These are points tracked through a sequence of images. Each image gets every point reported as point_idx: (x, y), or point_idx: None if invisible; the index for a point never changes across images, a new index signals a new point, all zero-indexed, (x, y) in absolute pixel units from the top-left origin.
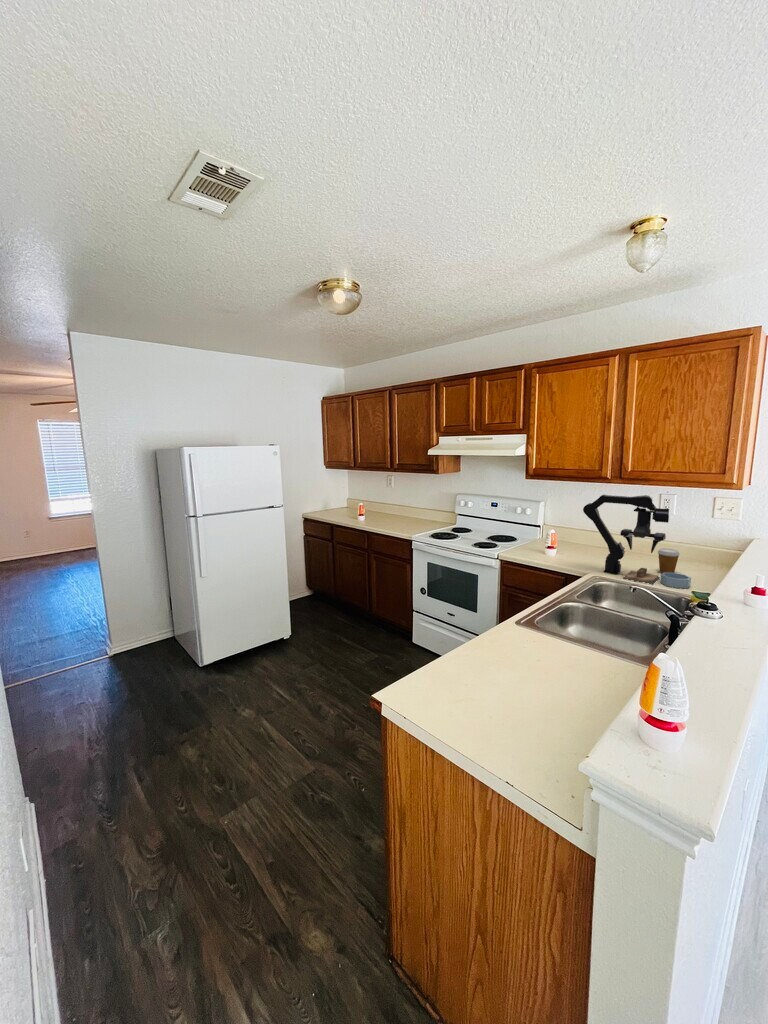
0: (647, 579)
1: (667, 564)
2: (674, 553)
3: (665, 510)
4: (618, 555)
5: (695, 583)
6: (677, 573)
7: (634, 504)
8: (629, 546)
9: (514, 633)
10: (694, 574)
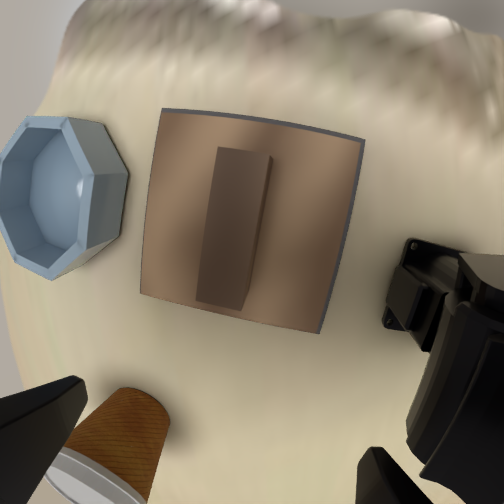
0: (193, 128)
1: (105, 419)
2: None
3: None
4: (500, 279)
5: (25, 277)
6: (36, 271)
7: None
8: (409, 482)
9: None
10: None
